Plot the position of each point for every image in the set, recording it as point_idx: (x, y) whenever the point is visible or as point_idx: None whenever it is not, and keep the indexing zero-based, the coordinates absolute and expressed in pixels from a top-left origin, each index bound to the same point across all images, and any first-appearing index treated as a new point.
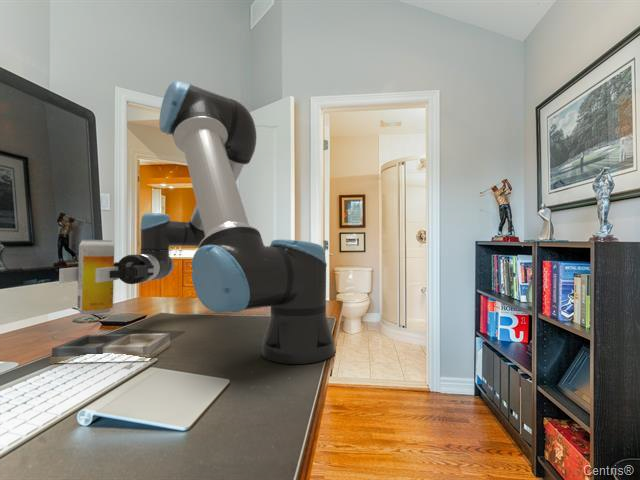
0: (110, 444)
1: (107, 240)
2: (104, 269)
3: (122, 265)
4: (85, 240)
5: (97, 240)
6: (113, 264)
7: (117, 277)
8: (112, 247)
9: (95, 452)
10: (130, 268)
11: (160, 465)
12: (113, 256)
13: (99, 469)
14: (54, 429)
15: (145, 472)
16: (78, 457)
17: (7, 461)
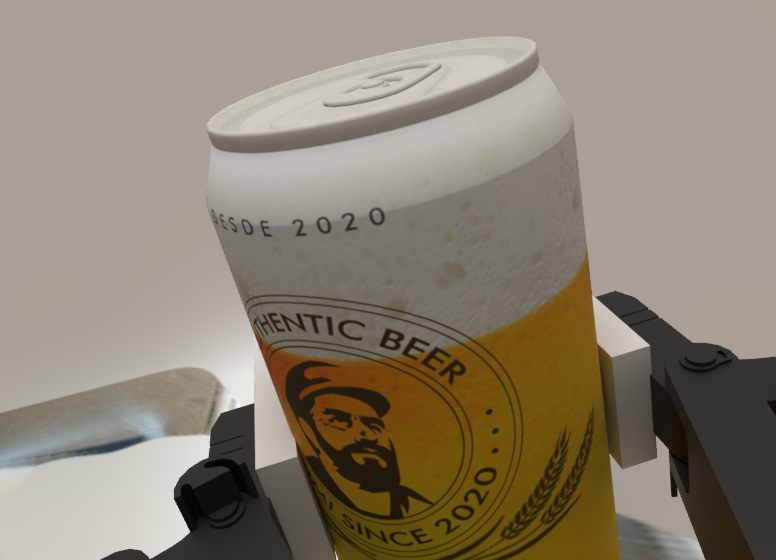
0: (90, 421)
1: (218, 115)
2: (255, 345)
3: (204, 478)
4: (385, 59)
5: (278, 89)
6: (290, 421)
7: (291, 552)
8: (213, 220)
9: (104, 407)
10: (133, 556)
11: (13, 417)
12: (257, 336)
13: (85, 395)
14: (199, 416)
15: (29, 407)
16: (122, 397)
17: (208, 371)
